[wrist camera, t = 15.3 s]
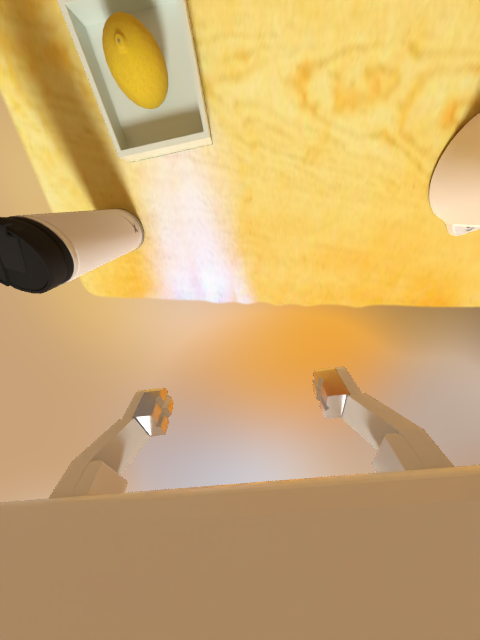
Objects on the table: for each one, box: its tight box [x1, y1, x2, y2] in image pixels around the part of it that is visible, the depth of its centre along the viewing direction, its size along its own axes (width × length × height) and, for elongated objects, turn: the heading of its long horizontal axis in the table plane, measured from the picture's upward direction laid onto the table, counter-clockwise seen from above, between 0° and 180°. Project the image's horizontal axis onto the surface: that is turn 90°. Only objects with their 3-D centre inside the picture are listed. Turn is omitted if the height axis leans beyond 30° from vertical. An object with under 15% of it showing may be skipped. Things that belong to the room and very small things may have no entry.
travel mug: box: [0, 209, 144, 293], centre depth 23 cm, size 6×7×20 cm
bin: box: [57, 0, 213, 162], centre depth 22 cm, size 12×12×3 cm
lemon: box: [102, 12, 168, 109], centre depth 20 cm, size 6×6×8 cm
